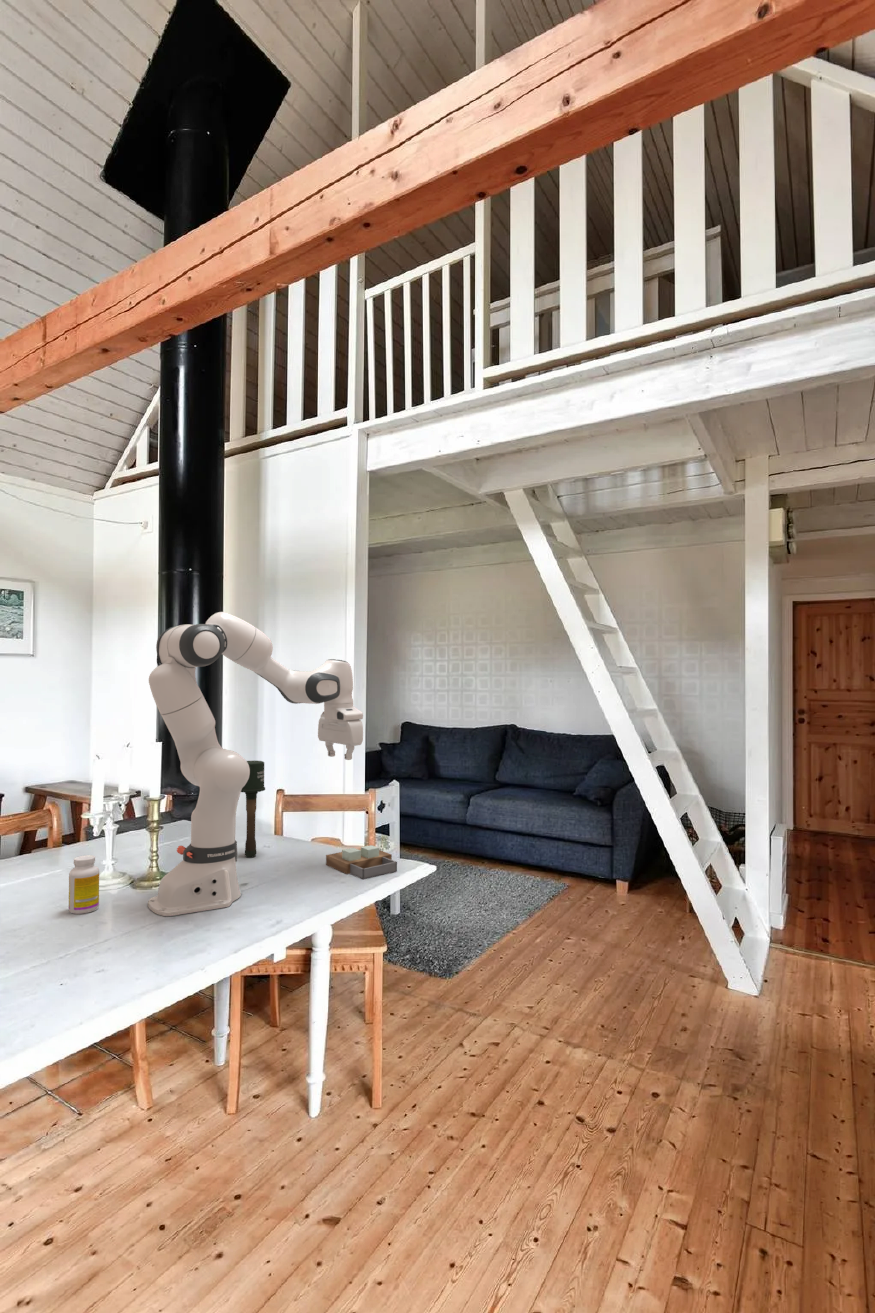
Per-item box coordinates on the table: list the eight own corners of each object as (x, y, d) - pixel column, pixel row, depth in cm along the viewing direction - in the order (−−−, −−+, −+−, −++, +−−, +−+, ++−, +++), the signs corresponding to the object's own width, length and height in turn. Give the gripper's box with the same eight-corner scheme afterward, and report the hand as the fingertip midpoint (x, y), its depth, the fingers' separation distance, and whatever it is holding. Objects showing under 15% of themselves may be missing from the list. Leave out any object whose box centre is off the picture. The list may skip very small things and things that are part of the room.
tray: (362, 879, 190) (363, 869, 190) (350, 873, 195) (350, 864, 195) (396, 871, 197) (396, 862, 197) (383, 866, 203) (383, 856, 203)
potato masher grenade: (260, 860, 208) (261, 764, 208) (232, 860, 208) (234, 763, 209) (267, 853, 216) (268, 760, 217) (241, 852, 216) (242, 760, 217)
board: (347, 874, 194) (347, 864, 194) (326, 865, 204) (326, 855, 204) (391, 864, 205) (391, 854, 205) (369, 855, 214) (369, 846, 214)
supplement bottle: (104, 908, 165) (105, 856, 166) (78, 917, 160) (79, 863, 160) (88, 903, 169) (89, 852, 169) (62, 911, 163) (63, 858, 163)
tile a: (349, 861, 197) (349, 852, 197) (342, 858, 200) (342, 849, 200) (360, 858, 200) (360, 850, 200) (353, 856, 203) (353, 847, 203)
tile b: (368, 858, 200) (368, 850, 200) (360, 855, 203) (360, 847, 203) (379, 856, 203) (379, 847, 203) (371, 853, 206) (371, 845, 206)
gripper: (312, 711, 208) (313, 755, 208) (348, 715, 193) (349, 763, 193) (329, 710, 212) (330, 753, 213) (366, 713, 197) (367, 760, 197)
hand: (339, 758), depth 203 cm, fingers open, 8 cm apart
